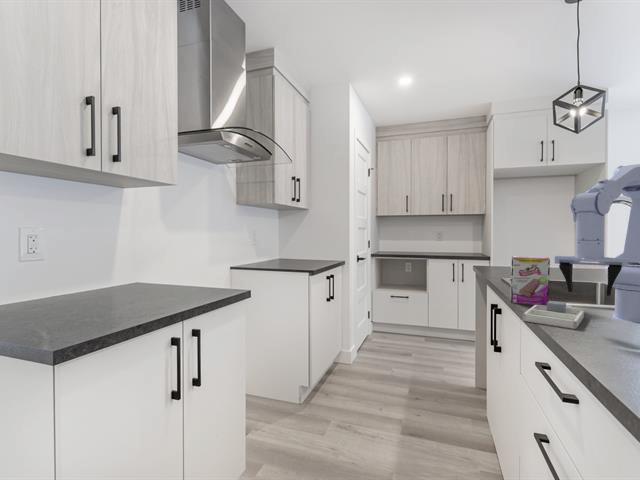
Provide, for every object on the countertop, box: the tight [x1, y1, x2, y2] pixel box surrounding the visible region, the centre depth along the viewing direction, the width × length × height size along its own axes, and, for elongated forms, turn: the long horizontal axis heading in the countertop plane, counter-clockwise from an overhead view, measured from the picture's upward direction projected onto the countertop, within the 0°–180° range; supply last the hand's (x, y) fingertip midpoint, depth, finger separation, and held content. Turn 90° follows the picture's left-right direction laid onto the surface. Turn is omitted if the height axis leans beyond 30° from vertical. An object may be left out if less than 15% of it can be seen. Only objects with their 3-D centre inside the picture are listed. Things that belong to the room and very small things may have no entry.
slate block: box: [547, 300, 567, 314], centre depth 100 cm, size 4×4×4 cm
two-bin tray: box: [522, 305, 585, 330], centre depth 97 cm, size 15×12×2 cm
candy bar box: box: [510, 255, 551, 306], centre depth 117 cm, size 11×5×16 cm, turn 62°
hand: (589, 293), depth 87 cm, fingers open, 7 cm apart
